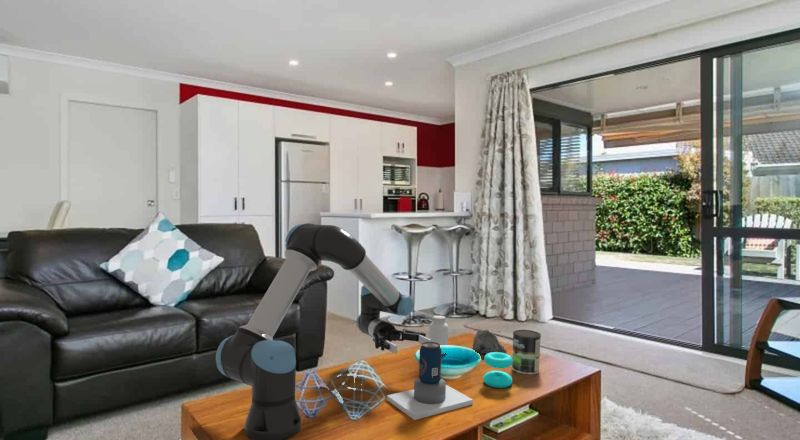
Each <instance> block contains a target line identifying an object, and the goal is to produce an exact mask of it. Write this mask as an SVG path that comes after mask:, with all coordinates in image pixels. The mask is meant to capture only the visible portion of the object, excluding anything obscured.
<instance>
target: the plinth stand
mask: <svg viewBox="0 0 800 440" xmlns="http://www.w3.org/2000/svg"><path fill="white" fill-rule="evenodd" d="M413 383H414V384H413V389H409V390H404V391H399V392H396V393H391V394H387V395H386V400H387V402H389V403H390V404H392V405H393V406H395V407H396V408H397V409H399V410H400V411H402V412H403V413H404V414H405V415H407V416H408V417H409V418H411V419H412V420H413V421H416V420H420V419H423V418H427V417H431V416H435V415H439V414H442V413H446V412H450V411H452V410H458V409H461V408H464V407H468V406H472V405H474V400H473V399H472V398H471V397H470V396H467V395H465V394H464V393H462V392H460V391H459V390H457V389H454V388H453V387H451V386H450V385H447V382H446V380H445V379H443V378H441V380H440V381H439V383H438V384H436V385H425V384H423V383H422V382H421V381H420V379H419V377H417V378H415V379H414V381H413Z"/></svg>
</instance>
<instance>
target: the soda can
mask: <svg viewBox="0 0 800 440" xmlns="http://www.w3.org/2000/svg"><path fill="white" fill-rule="evenodd" d="M442 355H443V354H442V350H441V348H440V344H438V343H435V342H424V343H422V344H421V346H420V348H419V365H418V366H419V369H418V378H419V379H420V381H421V382H422V383H423V384H425V385H436V384H438V383H439V381H440V380H441V379H442Z"/></svg>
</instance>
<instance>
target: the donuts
mask: <svg viewBox="0 0 800 440" xmlns="http://www.w3.org/2000/svg"><path fill="white" fill-rule="evenodd" d="M512 357H513V356H511V355H510V354H508V353H506V354H505V353H500V352H491V353H488V354H486V353H485V355H484V358H483V360H484V363H485V364H486V365H487V366H489V367H490V368H494V369H507V368H509V367H512V363H513V359H512ZM483 381H484V383H485V384H486V385H487V386H489V387H491V388H497V389H504V388H508V387H510V386H512V384H513V378H512V376H511V375H510V374H509V373H508V372H505V371H502V370H490V371H487V372H486V373H485V374H484V375H483Z"/></svg>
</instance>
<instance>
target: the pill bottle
mask: <svg viewBox="0 0 800 440" xmlns="http://www.w3.org/2000/svg"><path fill="white" fill-rule="evenodd" d="M446 320H447V319H446V316H444V315H433V316H432V322H431V323H429V328H428V329H429V333H428V335H429V336H428V338H429V339H431V342H435V343H438V344H440V345H448V346H449V325H448V323H446Z"/></svg>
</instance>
